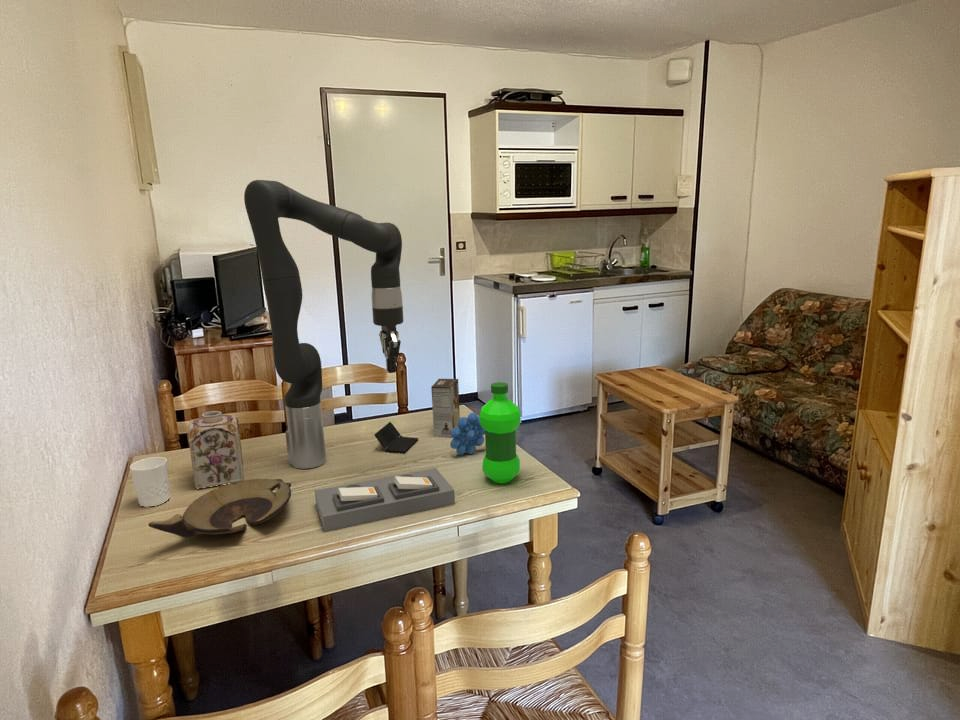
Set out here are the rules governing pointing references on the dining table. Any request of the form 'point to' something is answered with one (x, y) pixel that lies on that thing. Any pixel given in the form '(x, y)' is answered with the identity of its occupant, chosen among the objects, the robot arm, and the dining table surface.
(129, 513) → the dining table surface
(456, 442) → the grapes
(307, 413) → the robot arm
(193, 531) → the oil lamp
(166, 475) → the white cup
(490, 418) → the plastic bottle
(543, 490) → the dining table surface
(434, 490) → the rocker switch panel
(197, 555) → the dining table surface
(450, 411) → the coffee box
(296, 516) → the dining table surface
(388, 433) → the handheld gaming console
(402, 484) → the right rocker
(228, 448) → the decorative jar
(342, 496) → the left rocker
